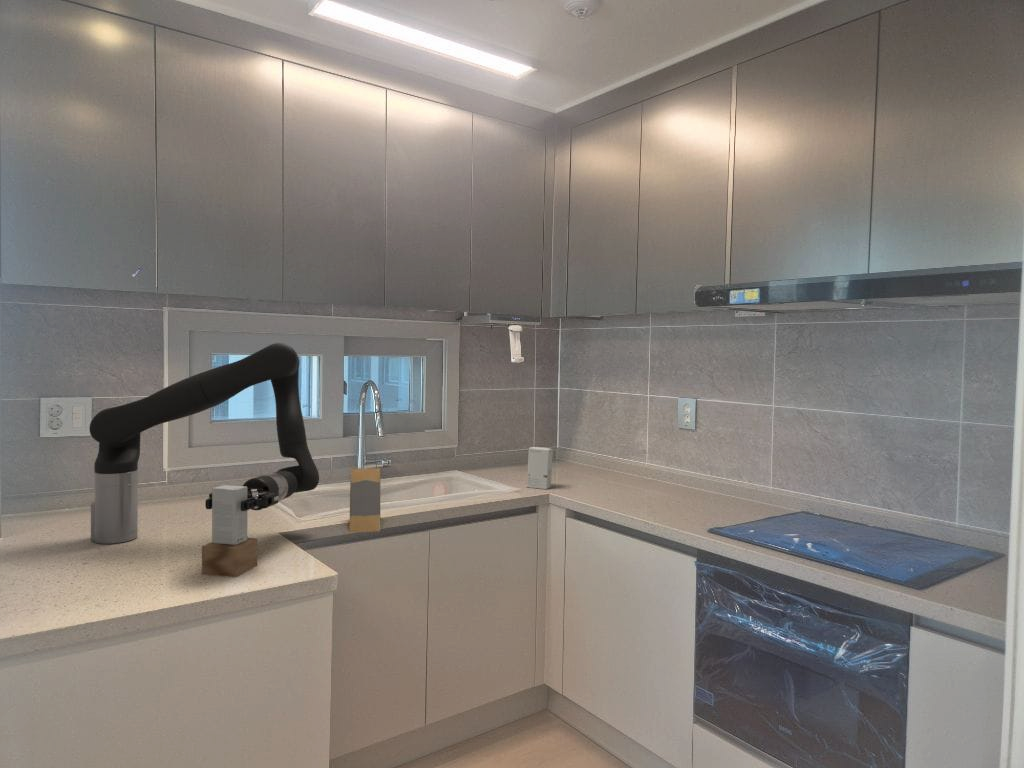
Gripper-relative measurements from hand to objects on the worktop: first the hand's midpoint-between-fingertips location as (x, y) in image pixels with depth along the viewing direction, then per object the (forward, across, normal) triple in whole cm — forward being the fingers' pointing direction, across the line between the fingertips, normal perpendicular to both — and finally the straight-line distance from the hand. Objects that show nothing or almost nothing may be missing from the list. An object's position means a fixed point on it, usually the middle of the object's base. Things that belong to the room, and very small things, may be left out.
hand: (224, 505), depth 137 cm
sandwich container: (-45, +14, +15) cm, 49 cm away
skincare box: (-2, 0, +9) cm, 9 cm away
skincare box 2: (-112, +56, +15) cm, 126 cm away
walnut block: (-2, 0, +14) cm, 15 cm away
